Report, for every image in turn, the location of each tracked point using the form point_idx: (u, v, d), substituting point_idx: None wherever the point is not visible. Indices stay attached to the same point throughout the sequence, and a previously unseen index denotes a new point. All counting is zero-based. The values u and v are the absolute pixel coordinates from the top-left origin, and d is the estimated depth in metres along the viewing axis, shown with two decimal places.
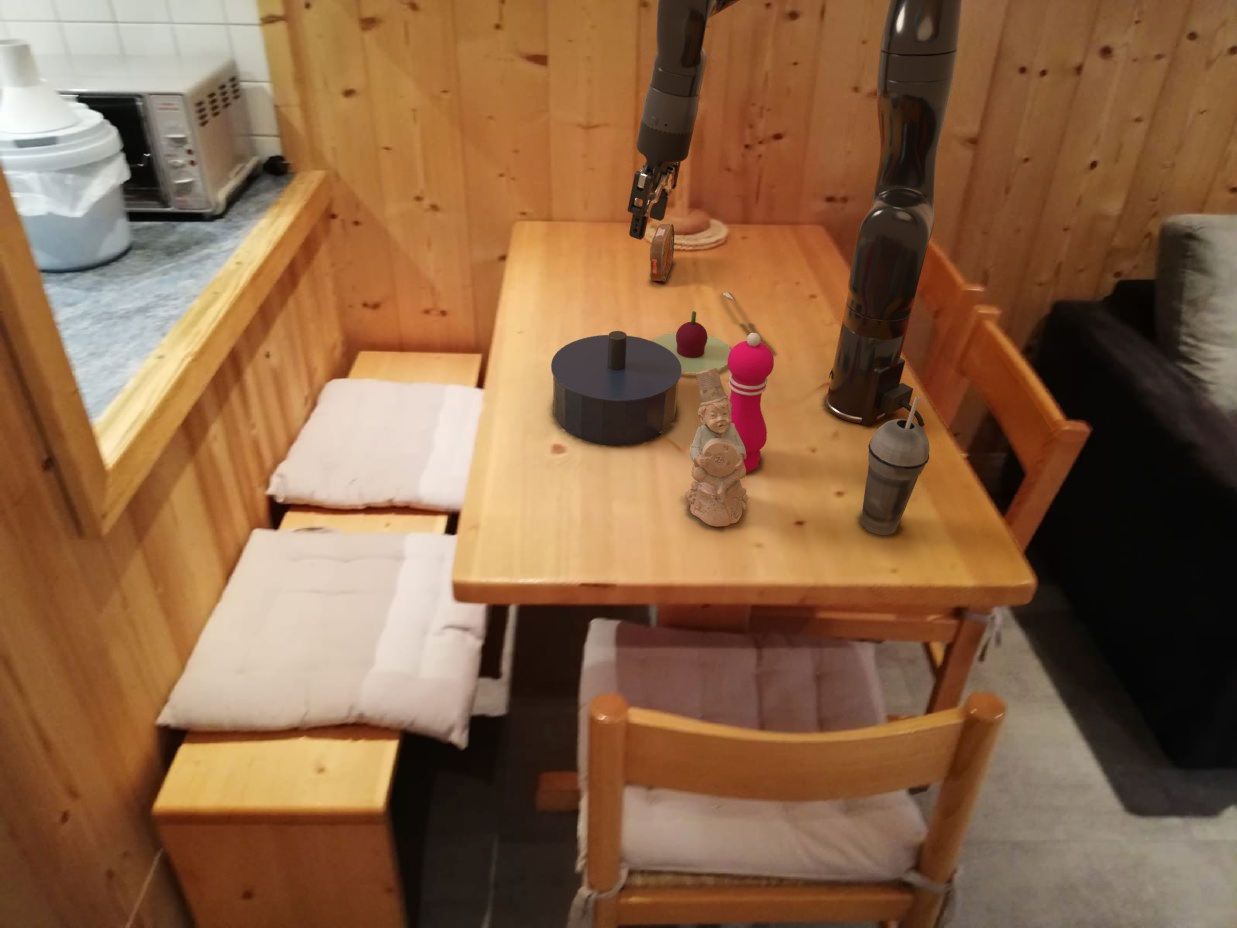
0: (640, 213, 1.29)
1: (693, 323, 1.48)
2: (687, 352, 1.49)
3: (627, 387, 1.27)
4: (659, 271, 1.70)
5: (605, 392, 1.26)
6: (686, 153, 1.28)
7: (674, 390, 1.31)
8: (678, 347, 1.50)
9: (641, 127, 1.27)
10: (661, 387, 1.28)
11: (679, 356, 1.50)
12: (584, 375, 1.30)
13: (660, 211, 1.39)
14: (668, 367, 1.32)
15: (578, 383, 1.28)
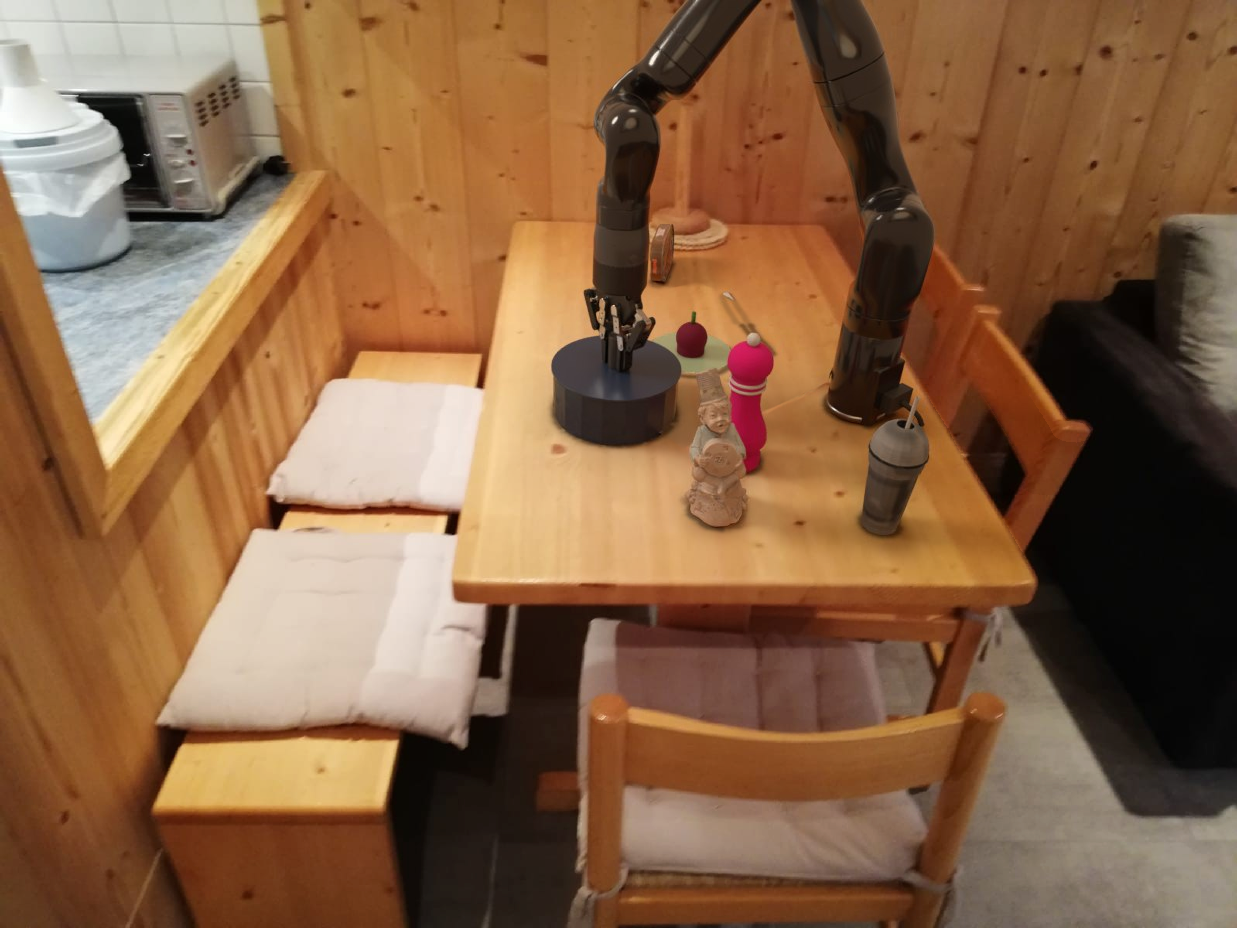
0: (641, 346, 1.27)
1: (693, 323, 1.48)
2: (687, 352, 1.49)
3: (627, 387, 1.27)
4: (659, 271, 1.70)
5: (605, 392, 1.26)
6: None
7: (674, 390, 1.31)
8: (678, 347, 1.50)
9: (614, 272, 1.20)
10: (661, 387, 1.28)
11: (679, 356, 1.50)
12: (584, 375, 1.30)
13: None
14: (668, 367, 1.32)
15: (578, 383, 1.28)
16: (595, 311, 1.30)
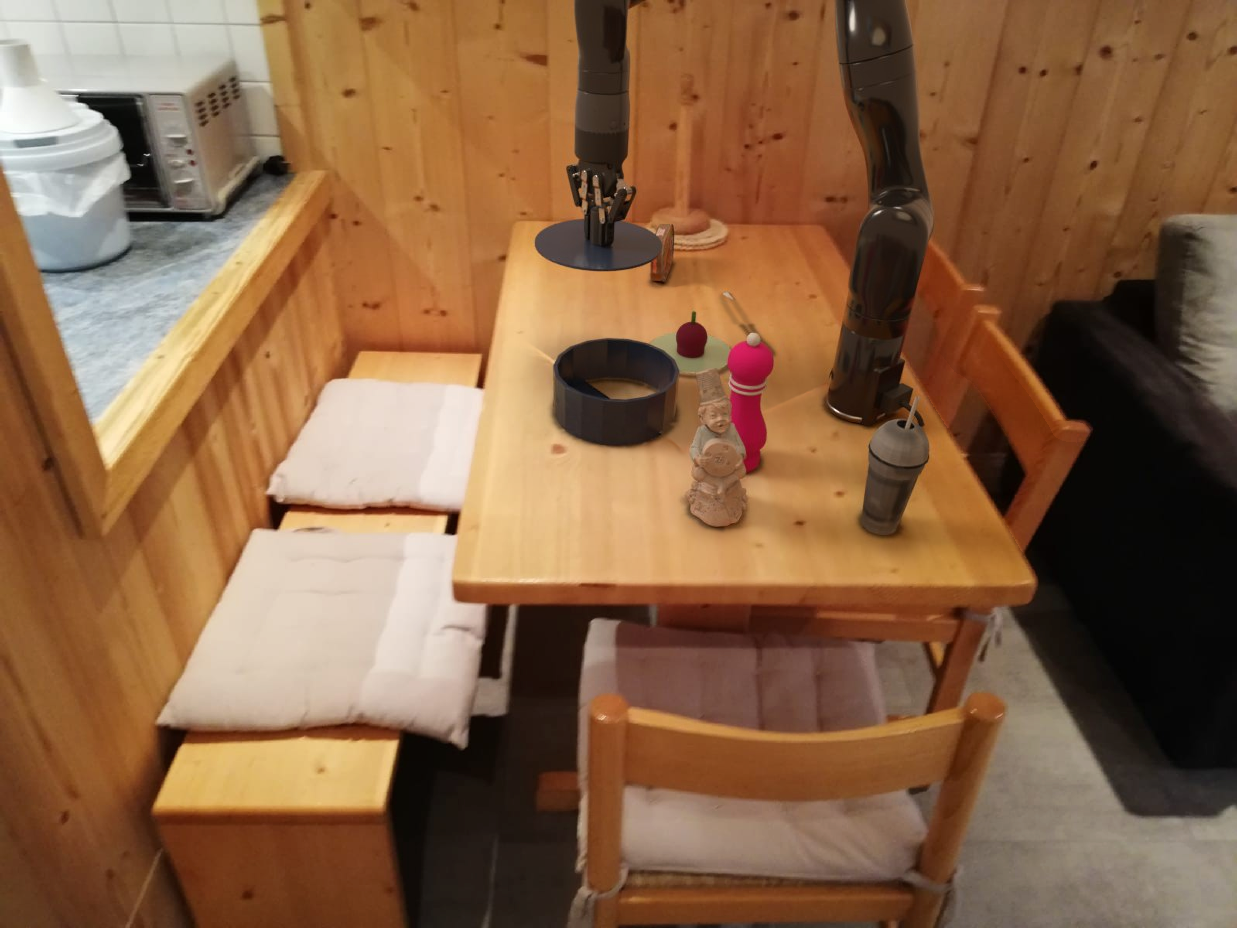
0: (622, 218, 1.30)
1: (693, 323, 1.48)
2: (687, 352, 1.49)
3: (609, 259, 1.30)
4: (659, 271, 1.70)
5: (587, 262, 1.29)
6: None
7: (674, 390, 1.31)
8: (678, 347, 1.50)
9: (595, 139, 1.23)
10: (642, 259, 1.31)
11: (679, 356, 1.50)
12: (567, 249, 1.33)
13: None
14: (649, 244, 1.35)
15: (561, 256, 1.31)
16: (577, 187, 1.33)
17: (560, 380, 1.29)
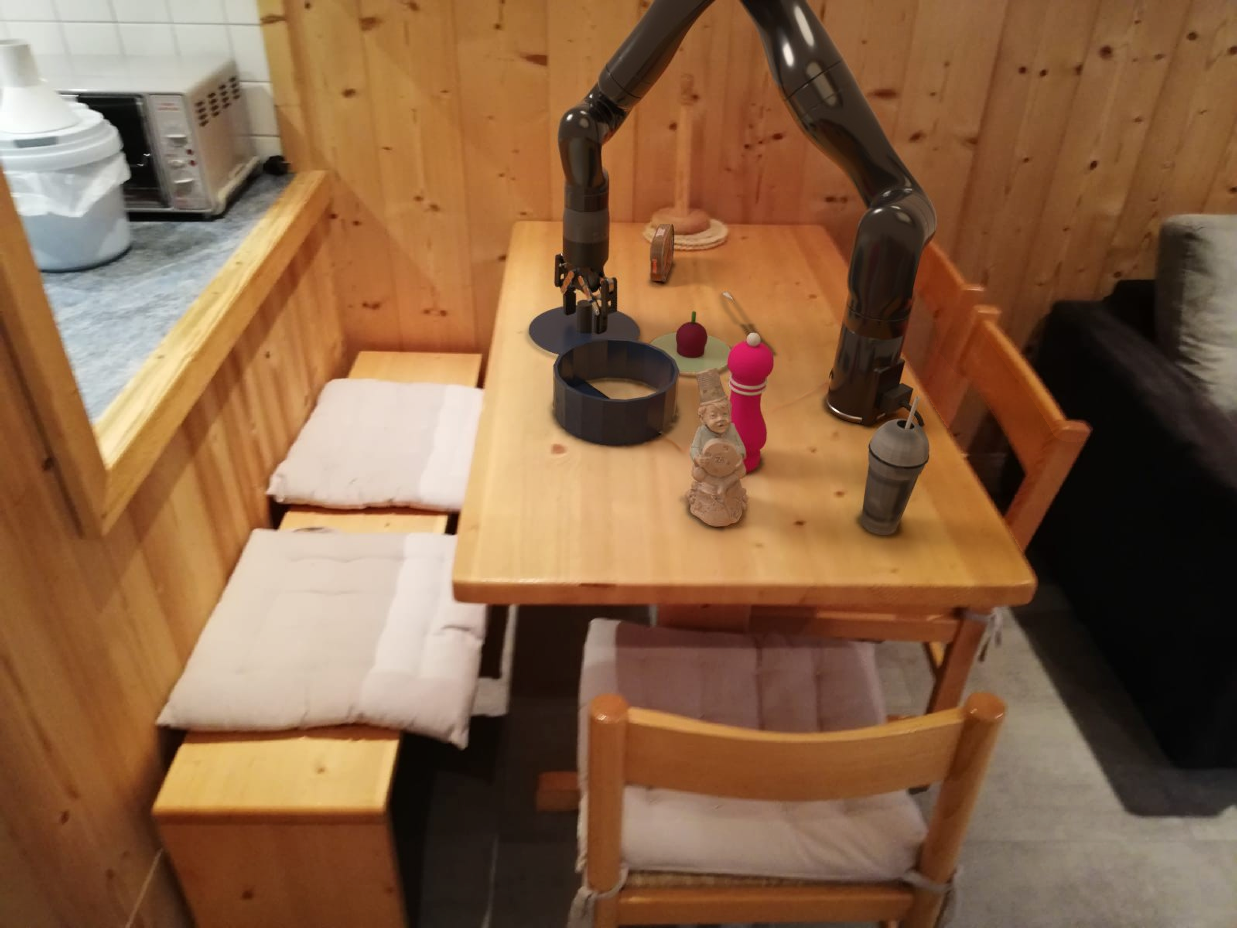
0: (614, 310, 1.48)
1: (693, 323, 1.48)
2: (687, 352, 1.49)
3: None
4: (659, 271, 1.70)
5: None
6: None
7: (674, 390, 1.31)
8: (678, 347, 1.50)
9: (579, 247, 1.43)
10: None
11: (679, 356, 1.50)
12: (556, 337, 1.53)
13: (573, 305, 1.57)
14: (628, 331, 1.56)
15: (551, 343, 1.51)
16: (561, 273, 1.54)
17: (560, 380, 1.29)
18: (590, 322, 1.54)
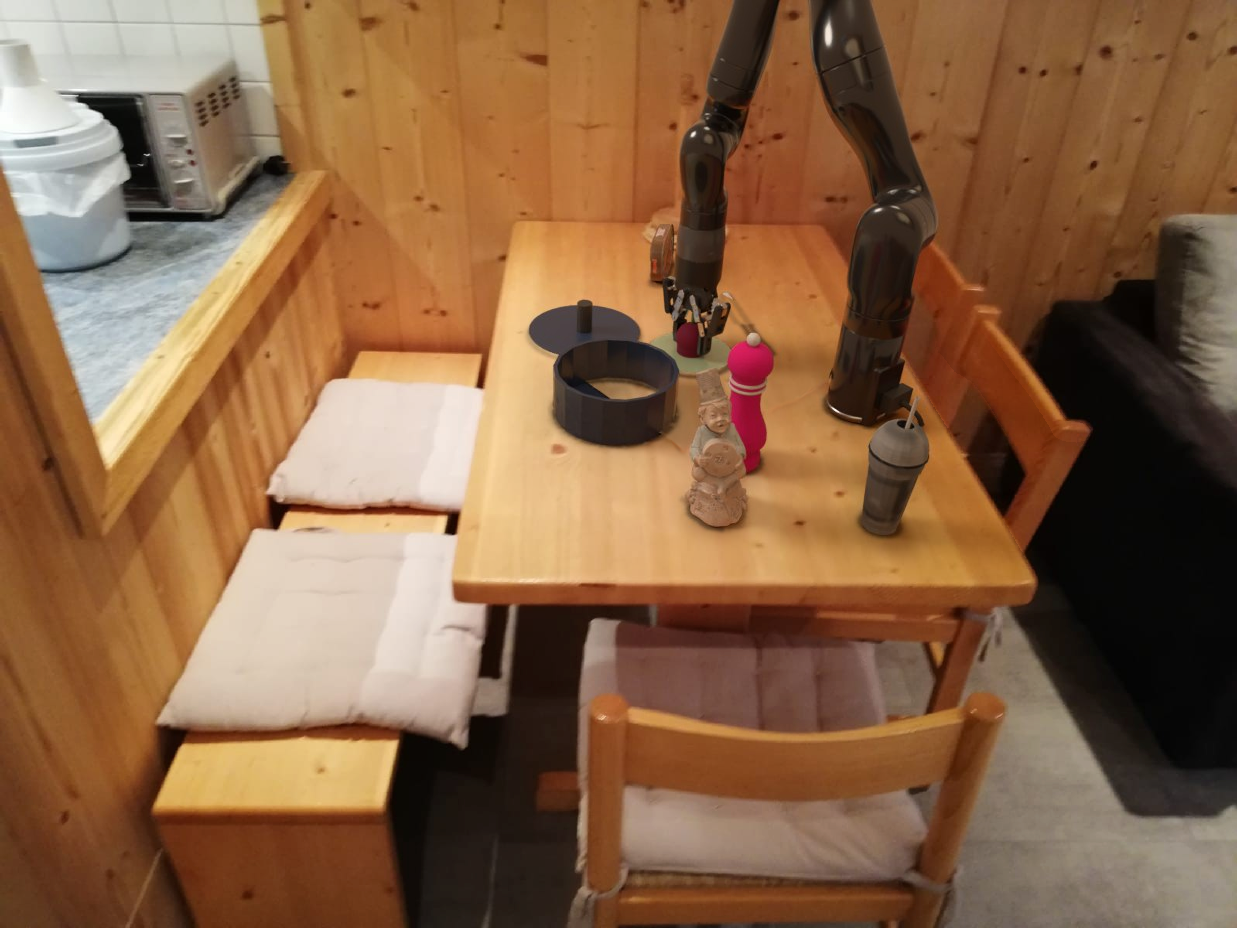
0: (720, 332, 1.45)
1: (693, 323, 1.48)
2: (687, 352, 1.49)
3: None
4: (659, 271, 1.70)
5: None
6: None
7: (674, 390, 1.31)
8: (678, 347, 1.50)
9: (695, 267, 1.39)
10: None
11: (679, 356, 1.50)
12: (556, 337, 1.53)
13: None
14: (628, 331, 1.56)
15: (551, 343, 1.51)
16: (670, 298, 1.49)
17: (560, 380, 1.29)
18: (590, 322, 1.54)
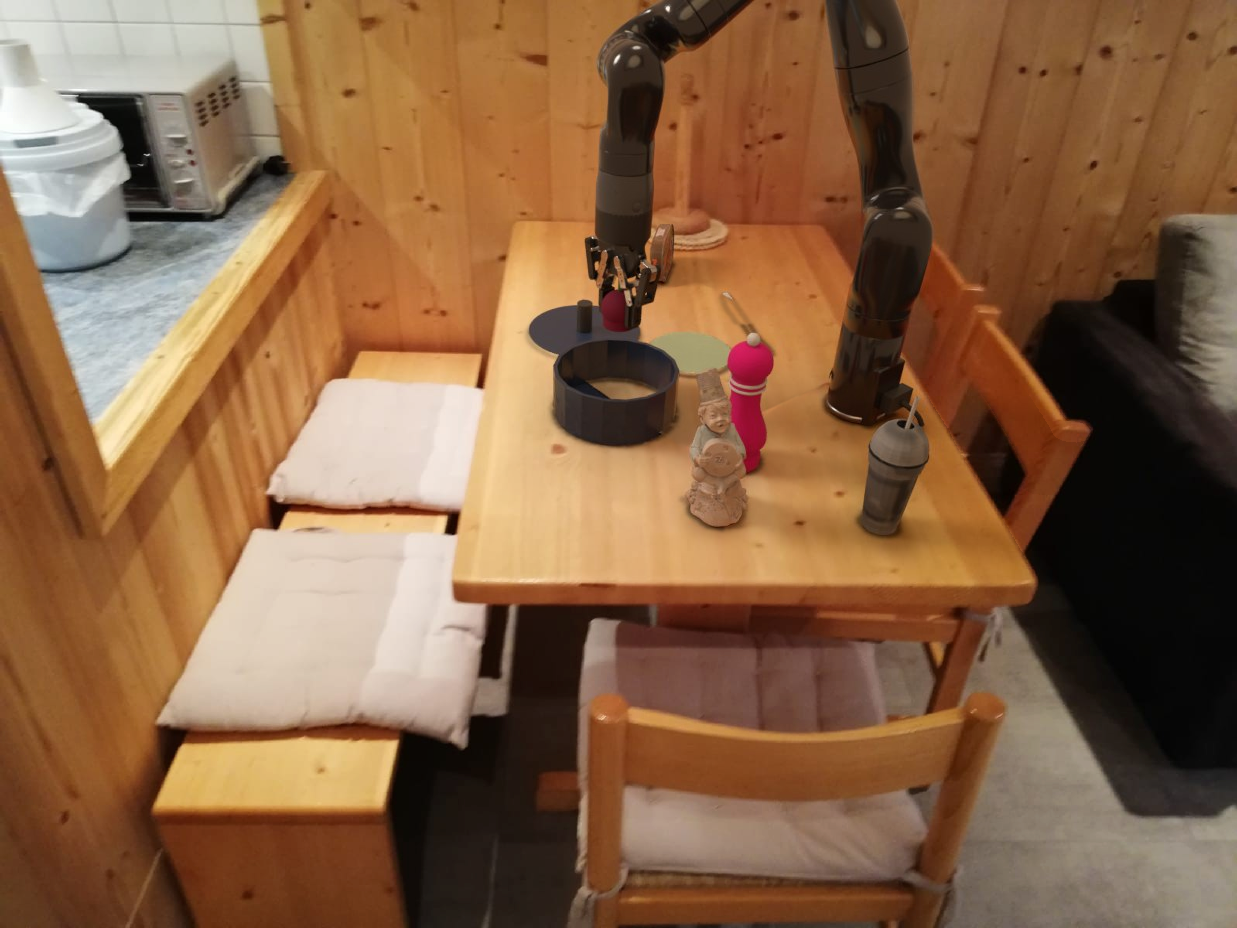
0: (650, 301, 1.22)
1: (620, 291, 1.25)
2: (614, 325, 1.26)
3: None
4: None
5: None
6: None
7: (674, 390, 1.31)
8: (604, 319, 1.27)
9: (617, 221, 1.16)
10: None
11: (679, 356, 1.50)
12: (556, 337, 1.53)
13: None
14: (628, 331, 1.56)
15: (551, 343, 1.51)
16: (594, 261, 1.27)
17: (560, 380, 1.29)
18: (590, 322, 1.54)
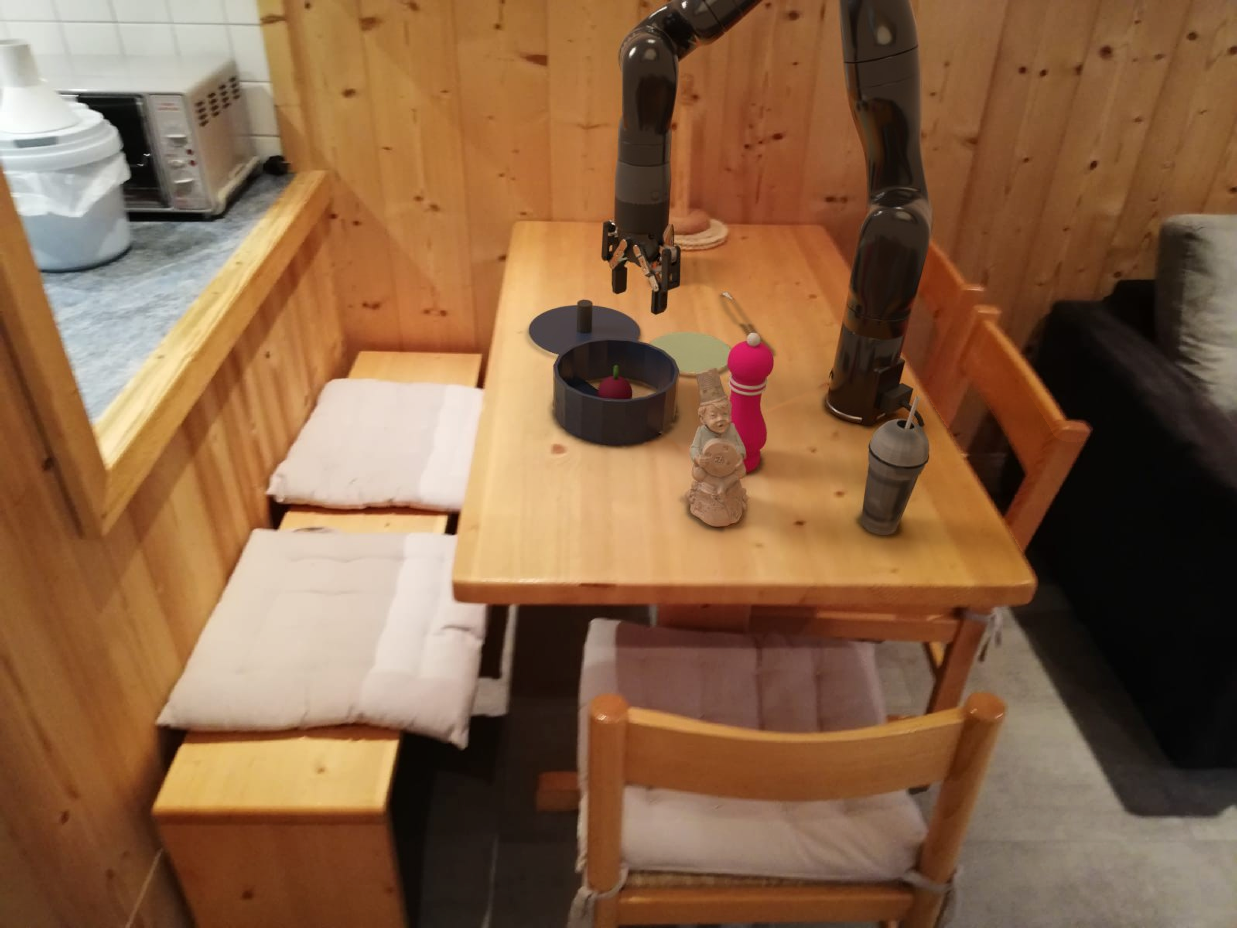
0: (676, 285, 1.25)
1: (615, 378, 1.33)
2: None
3: None
4: None
5: None
6: None
7: (674, 390, 1.31)
8: None
9: (636, 210, 1.20)
10: None
11: (679, 356, 1.50)
12: (556, 337, 1.53)
13: (623, 282, 1.34)
14: (628, 331, 1.56)
15: (551, 343, 1.51)
16: (609, 244, 1.31)
17: (560, 380, 1.29)
18: (590, 322, 1.54)
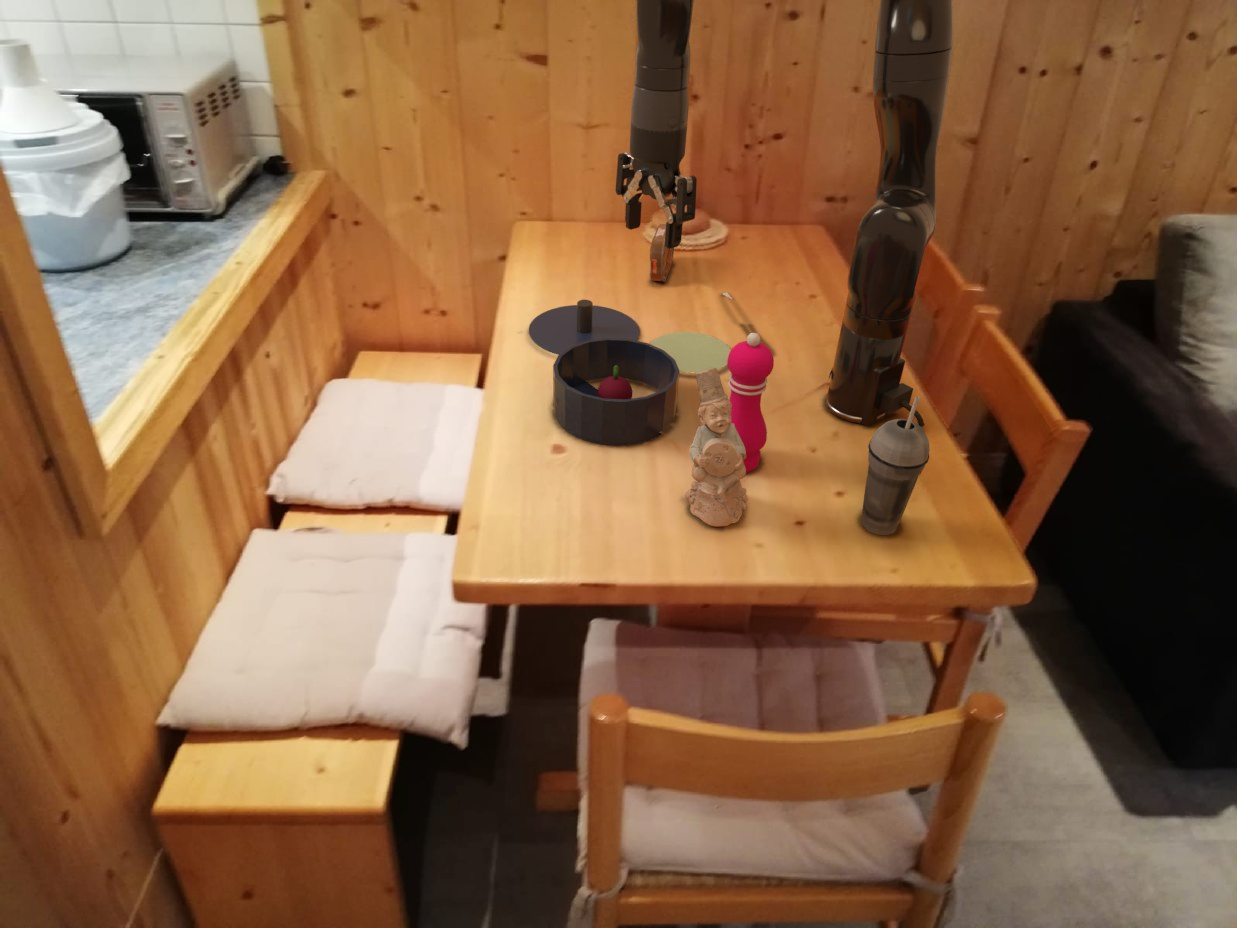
0: (691, 217, 1.23)
1: (615, 378, 1.33)
2: None
3: None
4: (659, 271, 1.70)
5: None
6: None
7: (674, 390, 1.31)
8: None
9: (653, 137, 1.18)
10: None
11: (679, 356, 1.50)
12: (556, 337, 1.53)
13: (637, 218, 1.32)
14: (628, 331, 1.56)
15: (551, 343, 1.51)
16: (624, 177, 1.29)
17: (560, 380, 1.29)
18: (590, 322, 1.54)
